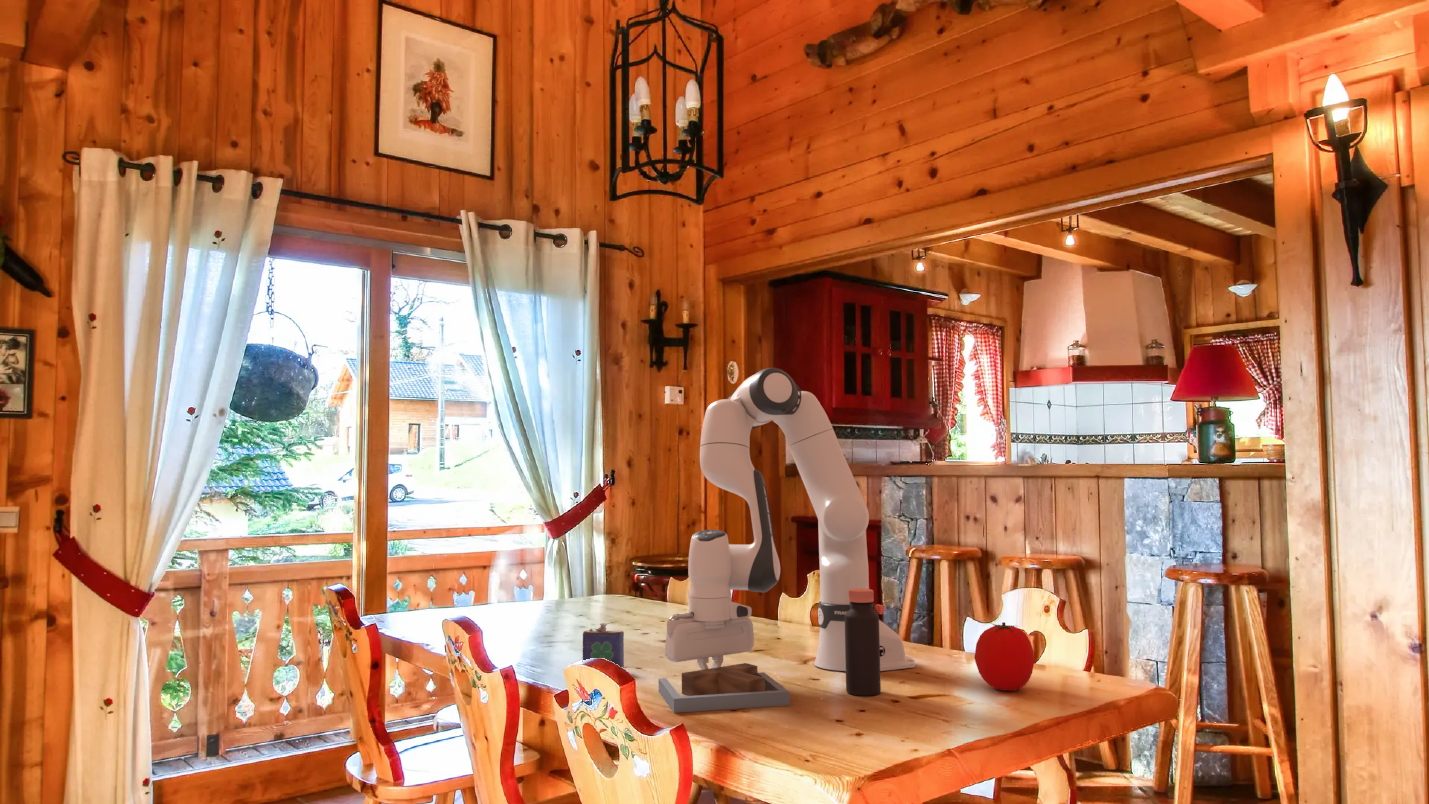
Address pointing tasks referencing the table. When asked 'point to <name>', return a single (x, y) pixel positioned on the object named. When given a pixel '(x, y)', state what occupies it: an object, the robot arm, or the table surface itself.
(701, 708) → the corral
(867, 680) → the bottle
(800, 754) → the table surface
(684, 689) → the t block
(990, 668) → the tomato
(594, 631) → the flask
